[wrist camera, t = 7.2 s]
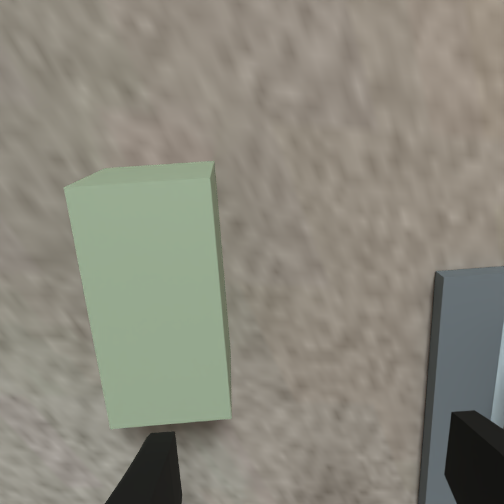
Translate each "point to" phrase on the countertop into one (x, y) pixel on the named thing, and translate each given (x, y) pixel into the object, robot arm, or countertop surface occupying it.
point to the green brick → (155, 291)
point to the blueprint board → (461, 365)
